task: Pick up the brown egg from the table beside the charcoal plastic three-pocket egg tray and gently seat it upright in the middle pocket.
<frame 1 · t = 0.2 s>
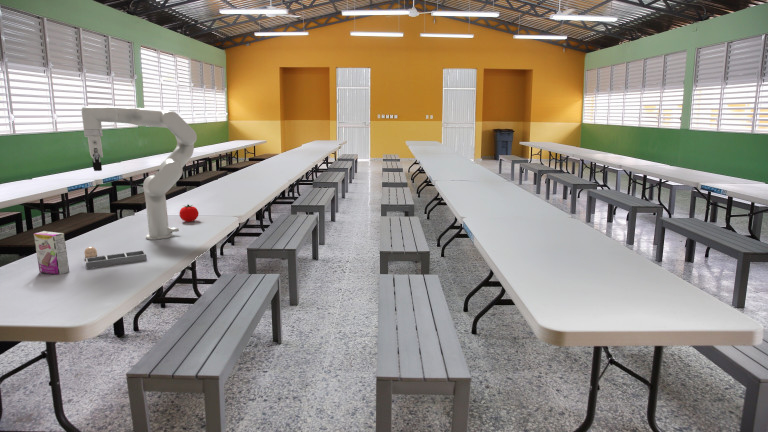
hand: (97, 169, 250), 36 cm above the table, tool pointing down, fingers open, 9 cm apart
egg: (91, 257, 234), on the table
tomato: (189, 221, 306), on the table
egg tray: (116, 262, 227), on the table
candy bar box: (54, 272, 214), on the table
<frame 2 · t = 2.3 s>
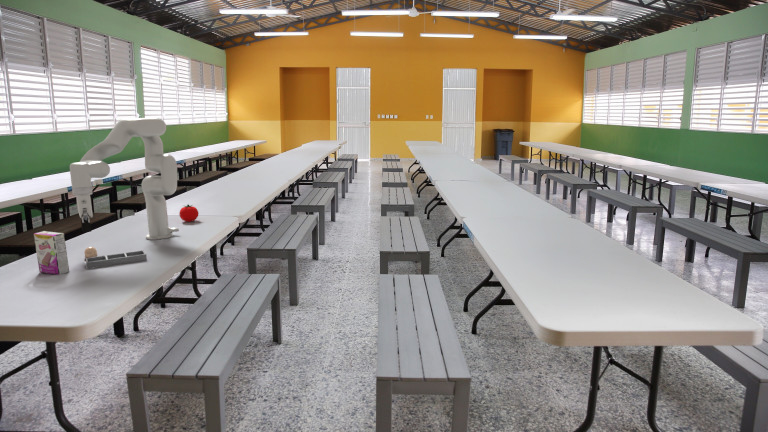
hand: (86, 229, 231), 13 cm above the table, tool pointing down, fingers open, 9 cm apart
nothing on the table moved.
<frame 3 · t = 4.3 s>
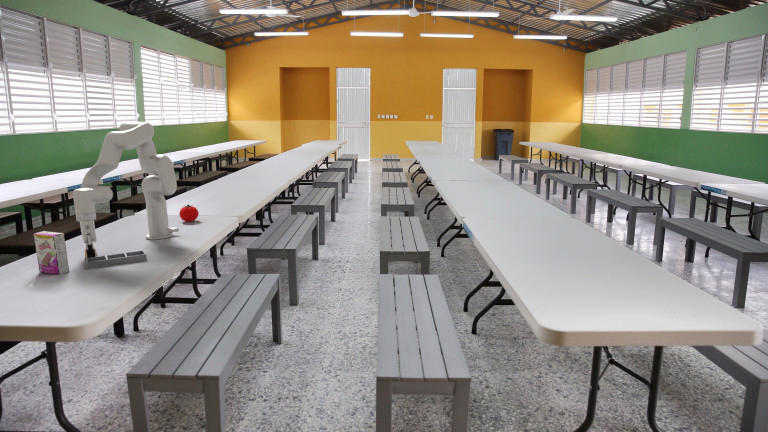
hand: (91, 256, 234), 1 cm above the table, tool pointing down, fingers closed on egg, 4 cm apart
egg: (91, 257, 234), on the table, touching gripper
everything else where it was.
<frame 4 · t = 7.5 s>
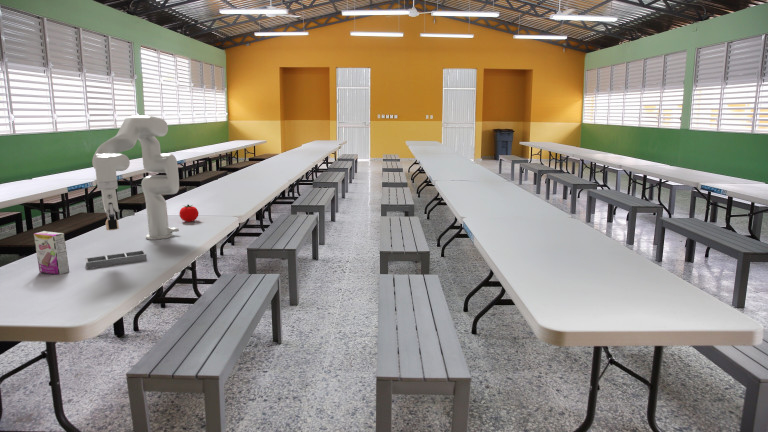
hand: (112, 227, 224), 15 cm above the table, tool pointing down, fingers closed on egg, 4 cm apart
egg: (112, 228, 224), point 15 cm above the table, touching gripper
everything else where it was.
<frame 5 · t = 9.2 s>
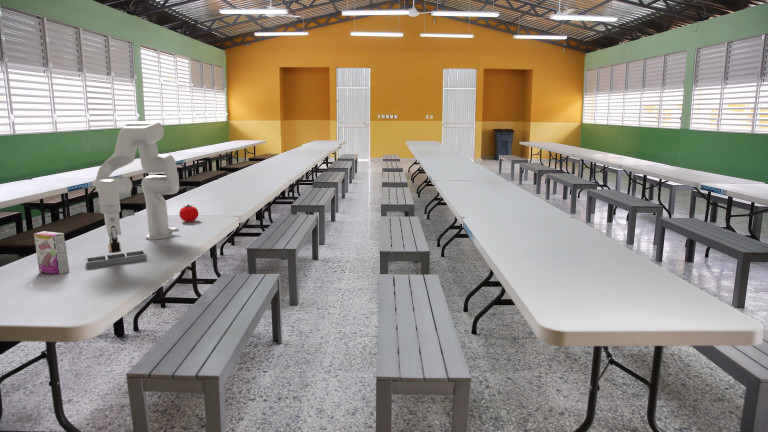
hand: (115, 250, 226), 5 cm above the table, tool pointing down, fingers closed on egg, 4 cm apart
egg: (115, 251, 226), point 5 cm above the table, touching gripper
everything else where it was.
when the fingers open (3 cm above the table, at t = 10.8 s): egg drops 2 cm, resting on egg tray.
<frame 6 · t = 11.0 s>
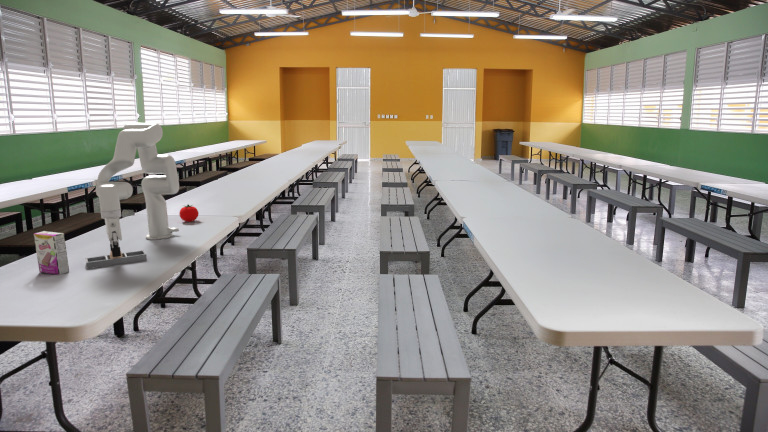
hand: (115, 254, 226), 3 cm above the table, tool pointing down, fingers open, 6 cm apart
egg: (116, 260, 227), point 1 cm above the table, touching egg tray
everything else where it was.
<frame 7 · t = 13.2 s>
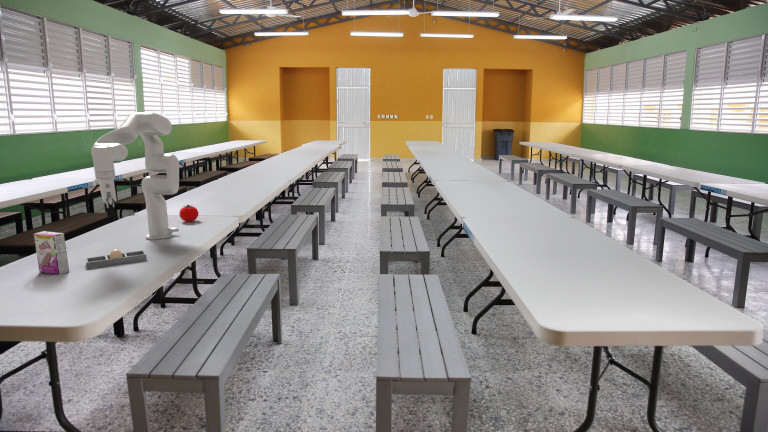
hand: (110, 214, 227), 20 cm above the table, tool pointing down, fingers open, 9 cm apart
nothing on the table moved.
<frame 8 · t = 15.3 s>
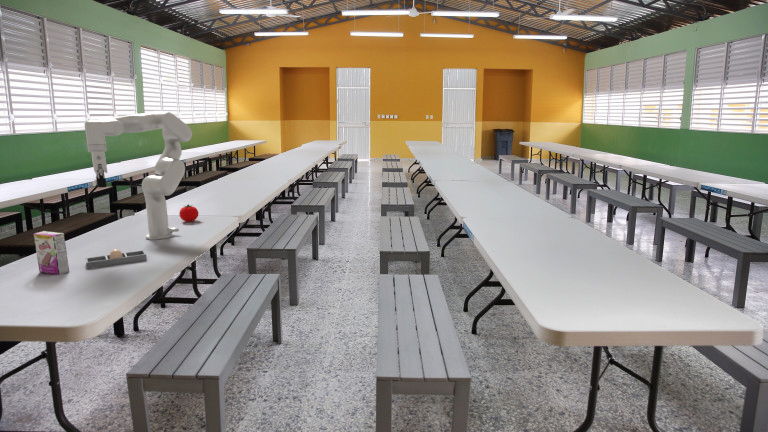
hand: (101, 185, 240), 30 cm above the table, tool pointing down, fingers open, 9 cm apart
nothing on the table moved.
at the end: egg 0.1 cm off-centre on the egg tray, point 0.6 cm above the egg tray's base; egg tilted 0°; the gripper is holding nothing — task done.
